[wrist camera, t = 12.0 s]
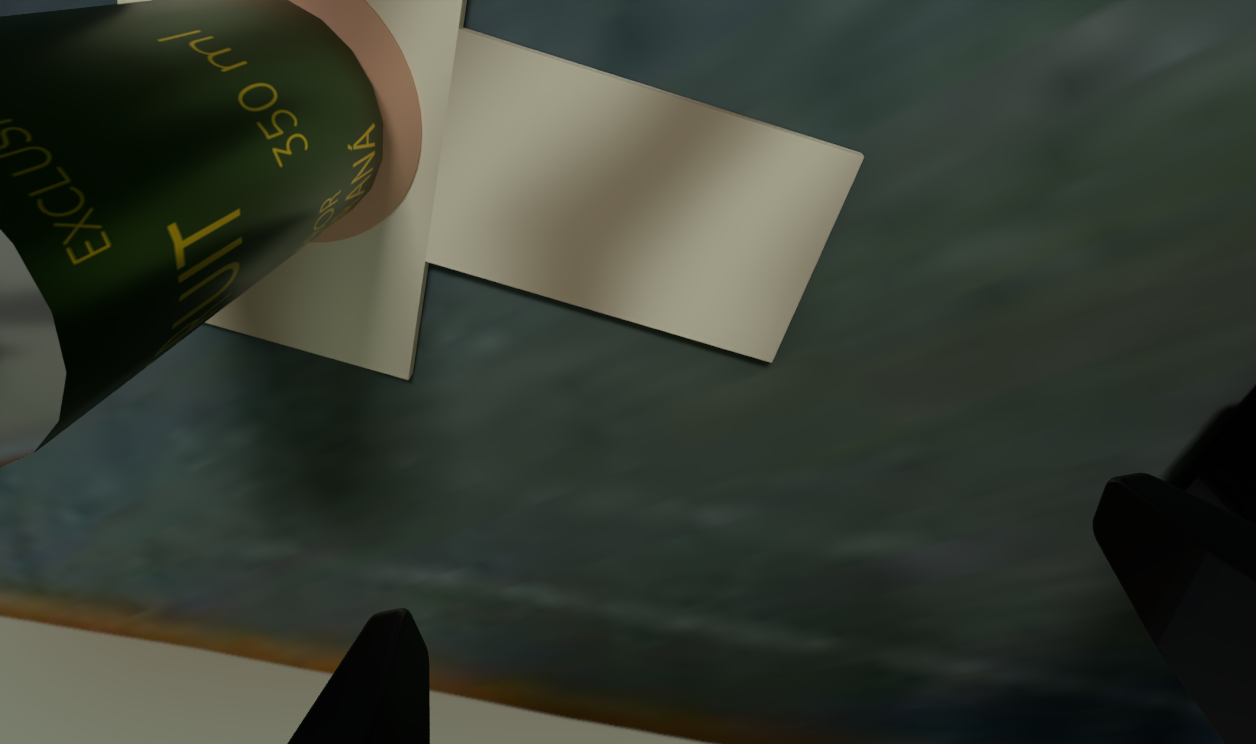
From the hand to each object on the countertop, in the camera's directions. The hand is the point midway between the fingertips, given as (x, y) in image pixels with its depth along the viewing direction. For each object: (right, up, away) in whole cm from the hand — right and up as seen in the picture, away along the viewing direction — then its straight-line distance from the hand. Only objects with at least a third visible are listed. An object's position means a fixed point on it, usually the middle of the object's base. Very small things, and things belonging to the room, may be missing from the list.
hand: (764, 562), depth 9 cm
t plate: (-6, +8, +9) cm, 14 cm away
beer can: (-10, +9, +9) cm, 16 cm away
